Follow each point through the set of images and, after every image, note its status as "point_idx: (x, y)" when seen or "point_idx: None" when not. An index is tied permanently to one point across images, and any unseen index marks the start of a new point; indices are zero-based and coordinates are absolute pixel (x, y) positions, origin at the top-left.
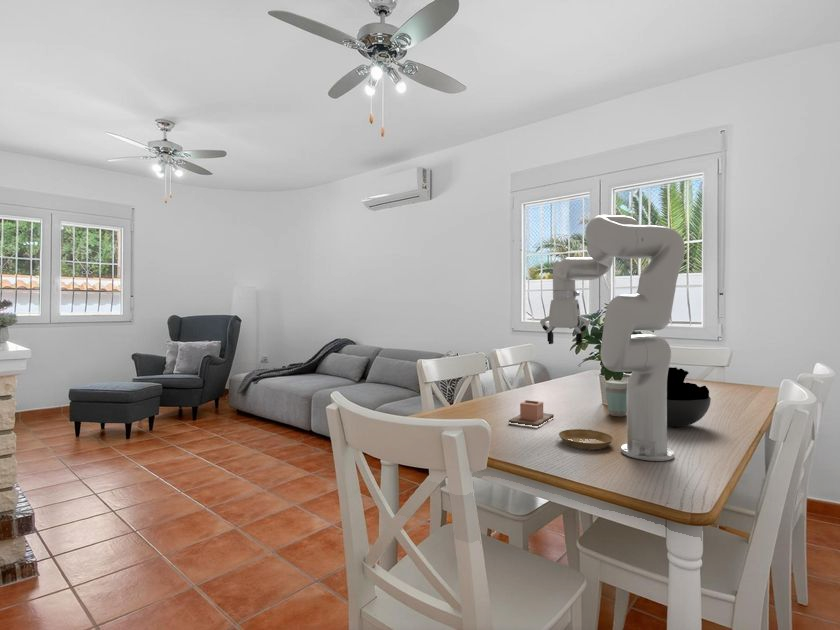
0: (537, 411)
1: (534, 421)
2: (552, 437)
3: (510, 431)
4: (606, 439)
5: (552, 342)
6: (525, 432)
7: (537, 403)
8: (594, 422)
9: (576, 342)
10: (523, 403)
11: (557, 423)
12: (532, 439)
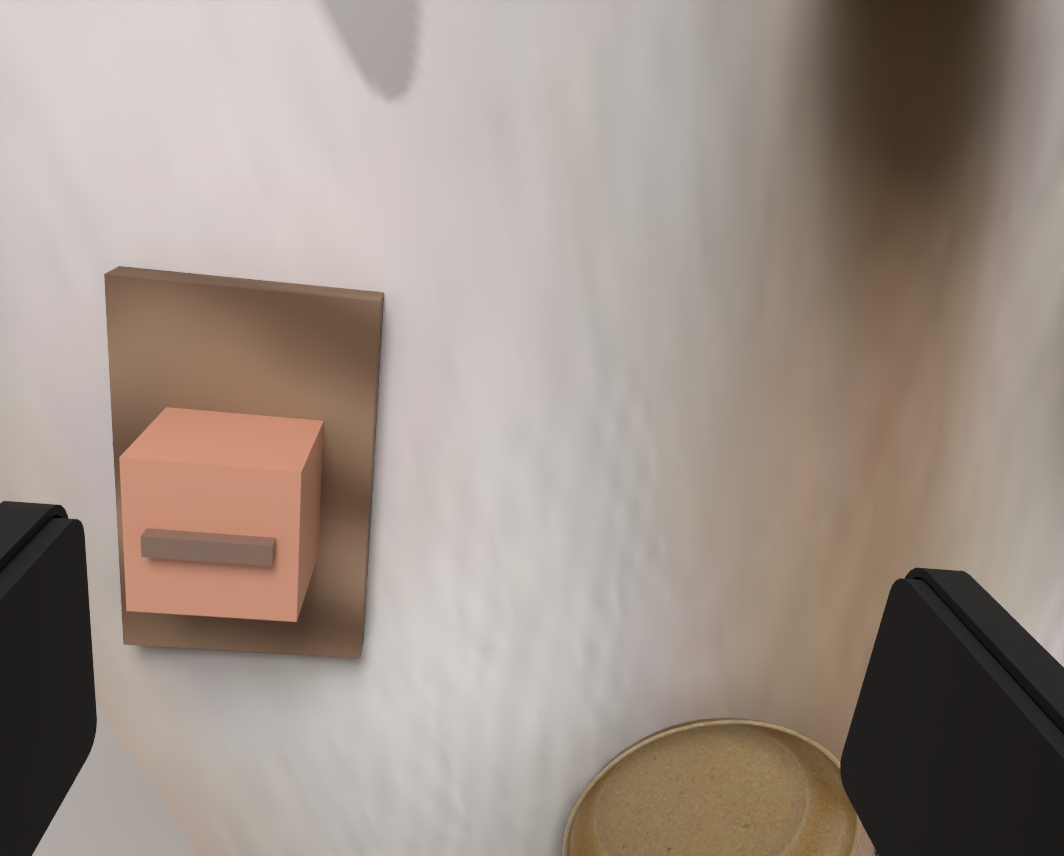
0: (307, 584)
1: (314, 603)
2: (507, 775)
3: (227, 767)
4: (816, 762)
5: (72, 613)
6: (322, 749)
7: (274, 557)
8: (724, 279)
9: (868, 819)
10: (156, 604)
11: (453, 439)
12: (412, 853)
